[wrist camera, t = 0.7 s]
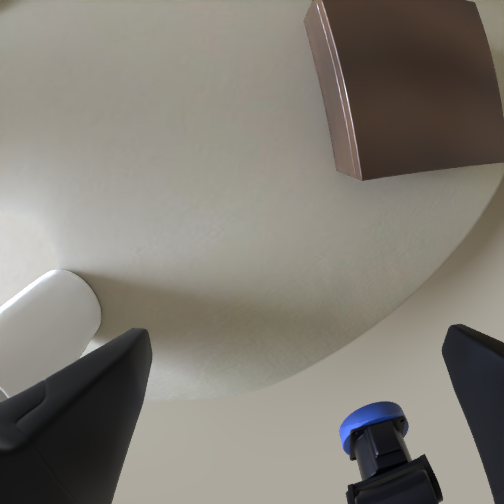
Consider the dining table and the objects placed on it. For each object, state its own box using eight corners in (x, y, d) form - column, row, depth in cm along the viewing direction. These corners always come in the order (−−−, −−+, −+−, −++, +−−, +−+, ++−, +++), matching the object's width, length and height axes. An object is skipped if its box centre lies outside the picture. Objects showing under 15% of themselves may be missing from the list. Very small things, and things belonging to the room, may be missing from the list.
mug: (72, 250, 21) (-36, 337, 10) (121, 324, 23) (51, 441, 12) (8, 298, 23) (-74, 373, 12) (49, 357, 25) (-15, 445, 14)
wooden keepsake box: (464, 154, 18) (508, 162, 14) (336, 170, 19) (361, 181, 15) (437, 21, 15) (475, 1, 10) (303, 20, 16) (317, -12, 11)
